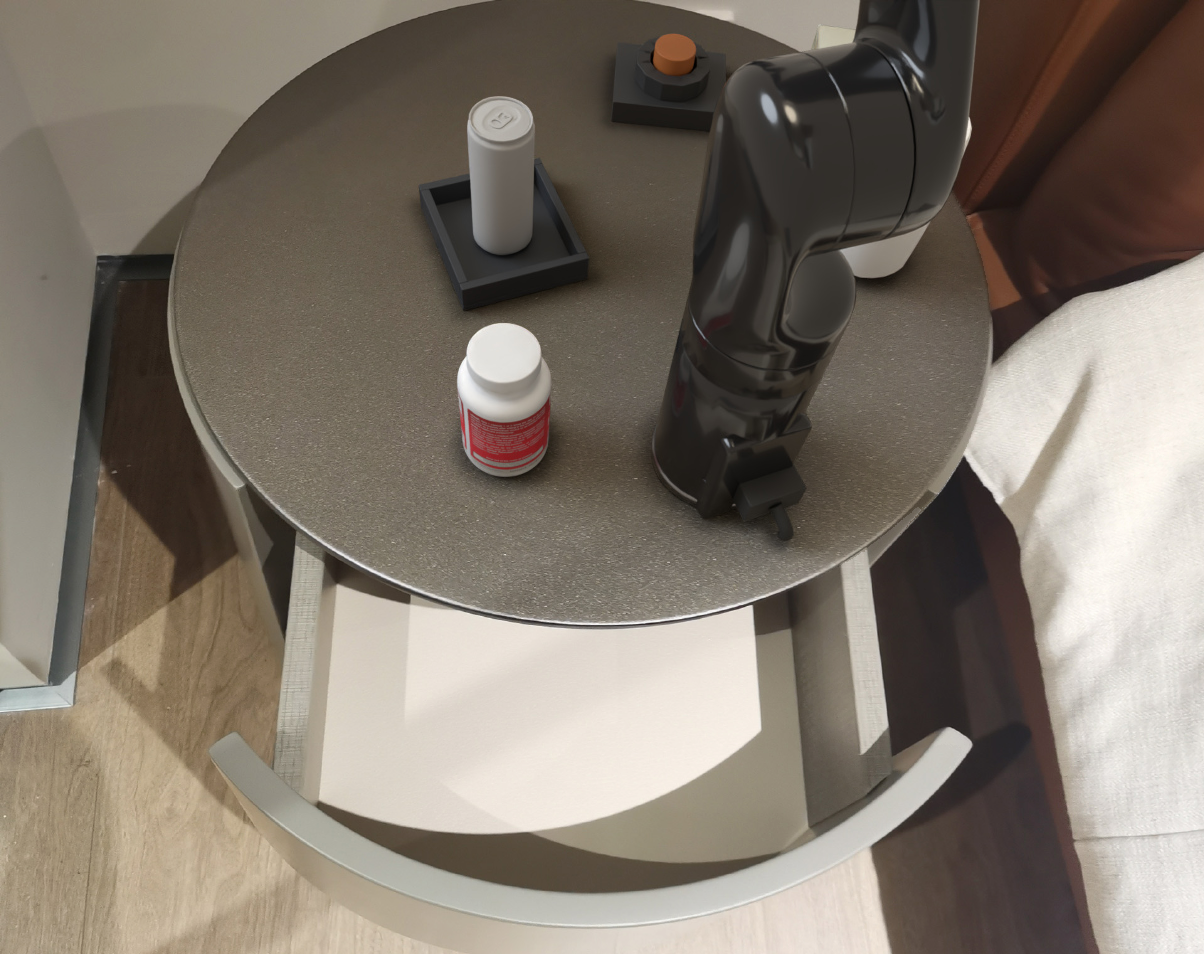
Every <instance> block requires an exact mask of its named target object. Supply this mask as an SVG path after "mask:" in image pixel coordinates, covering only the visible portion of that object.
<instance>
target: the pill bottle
mask: <svg viewBox="0 0 1204 954" xmlns="http://www.w3.org/2000/svg"><path fill="white" fill-rule="evenodd" d="M467 344H468V345H467V348H466V355H465V357H464V359H463V360H462V362H461V364H460V365H459V368H458V372H457V376H456V377H457V378H456V387H457V396H458V397H457V398H458V407H459V418H460V428H461V439H462V440H461V441H462V446H463V449H464V452H465V454H466V456H467V457H468V460H469V461H470V462H471V463H472V464H473V465H474V466H475V467H476V468H478V469H479V470H480V471H482V472H484V473H486V474H487V475H491V476H495V477H504V478H506V477H507V478H508V477H516V476H520V475H522V474H525V473H527V472H529V471H531V470H533V468H535V467H536V466H538V464H540V462H541V461H542V460H543V458H544V456H545V455H546V452H547V449H548V446H549V439H550V438H549V437H550V422H551V401H552V400H551V399H552V375H551V371H550V367H549V365H548V364H547V362H546V360H545V359H544V357H543V356H542V348H541V344H540V342H539V340H538V339H537V337H536V335H534V333H532V332H531V331H530V330H528V329H527V328H525V327H523V326H521V325H518V324H515V323H509V322H500V323H499V322H498V323H493V324H489V325H486V326H484V327H482V328H481V329H479V330H478V331H476V333H475V334H473V336H472V337H471V338H470V339H469V342H468V343H467Z"/></svg>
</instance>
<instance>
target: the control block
mask: <svg viewBox="0 0 1204 954" xmlns="http://www.w3.org/2000/svg"><path fill="white" fill-rule="evenodd" d="M664 35H665V34H663V35H660V36H656V37H651V38H649V39H647V40H645V42H644V43H642V44H639V43H630V42H622V41H621V42H620V41H617V45H616V55H615V64H614V77H613V91H612V102H611V103H612V104H611V117H610V118H611V119H610V121H611V122H612V123H613V122H614V123H623V124H632V125H643V126H651V127H653V126H654V127H661V128H662V127H663V128H671V129H682V130H692V131H702V132H710V127H711V121H712V117H713V114H714V110H715V106H716V103H717V100H718V98H719V96H720V93H721V91H722V89H723V87H724V85H725V84H726V82H727V54H726V53H725V52H724V53H723V52H715V51H707V50H705V49H704V47H703V46H702V45H701V44H699V43H697V42H695V41H693V42H694V44H695V46H696V55H695V60H694V65H693V69H692V71H691V72H690V73H689V74H686V75H683V76H671V75H666V74H664V73H662V72H660V71H658V70H656V68H655V67H654V64H653V57H654V51H655V44H656V41H657V40H658V39H659V38H660V37H662V36H664Z"/></svg>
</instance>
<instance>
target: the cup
mask: <svg viewBox="0 0 1204 954" xmlns="http://www.w3.org/2000/svg"><path fill="white" fill-rule="evenodd" d="M972 129H973V125H972V122H971V118H970V117H969V120H968V128H967V135H966V141H965V146H964V152H963V156H962V158H963V157H964V154H965V152H966V149H967V147H968V145H969V142H970V139H971V134H972ZM930 223H931V221H930V222H929V223H928V224H926V225H925V226H923V227H921V228H919V229H917V230H915V231H912V232H909V233H907V234H904V235H900V236H896V237H893V238H889V239H886V240H881V241H877V242H872V243H868V244H863V245H859V246H855V247H850V248H846V249H842V250H840V251H841V252H842V253H843V254H844V256H845V258H846V259H847V261H848V263H849V265H850V266H851V269H852V271H853V274H854V277H857V278H865V279H866V278H867V279H877V278H884V277H887V276H890V275H893V274H896V272H898V271H900V270H901V269H902V268H904V266H905V264H906V263H907V261H908V260H909V258H910V257H911V255H912V254H913V252H914V250H915V249H916V247H917V246H918V244H919V242H920V240H921V239H922V237H923V235H924V233H925V232H926V230H927V228H928V227H929V225H930Z"/></svg>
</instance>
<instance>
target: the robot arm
mask: <svg viewBox="0 0 1204 954" xmlns="http://www.w3.org/2000/svg"><path fill="white" fill-rule="evenodd" d="M979 12H980V0H859V1H858V11H857V19H856V26H855V29H856V30H855V35H854V39H853V42H852V43H848V44H842V45H837V46H831V47H825V48H820V49H814V50H811V49H808V50H803V51H802V50H801V51H798V52H790V53H787V54H786V53H785V54H780V55H779V54H778V55H774V56H769V57H765V58H759V59H754V60H752V61H749V62H745V63H744V64H742V65H741V66H739V67H738V68H737V69H736V70H735V71H733V73H731V75H730V76H729V78H728V79H726V84H725V85H724V87H723V89H722V91H721V93H720V96H719V98H718V100H717V103H716V106H715V110H714V114H713V117H712V121H711V127H710V131H708V132H709V133H708V138H707V144H706V151H705V157H704V158H705V159H704V164H703V171H702V172H703V173H702V179H701V185H700V191H699V192H700V193H699V198H698V202H697V203H698V204H697V208H696V214H695V220H694V228H693V235H692V277H691V282H690V285H689V289H688V292H687V293H688V294H687V298H686V302H685V306H684V309H683V314H682V318H681V322H680V326H679V330H678V334H677V338H676V342H675V346H674V351H673V355H672V359H671V362H670V363H671V364H670V367H669V372H668V376H667V380H666V384H665V388H664V393H663V396H662V401H661V404H660V409H659V413H658V418H657V422H656V424H655V427H654V429H653V433H652V437H651V443H650V457H651V458H650V459H651V463H652V465H653V468H654V471H655V473H656V475H657V477H658V478H659V480H660V481H661V483H662V484H663V486H665V488H666V489H667V490H668V491H669V492H670V493H672V494H673V495H674V496H675V497H677V498H678V499H679V500H681V501H683V502H684V503H686V504H688V505H691V506H693V507H694V508H695V509H696V511H697V512H698V514H699V516H700V518H701V519H703V520H707V519H710V518H712V517H717V516H719V515H722V514H725V513H727V512H732V511H735V510H737V511H738V513H739V515H740V517H741V519H742V521H743V522H744V523H745V522H748V521H751V520H754V519H756V518H760V517H763V516H766V515H768V514H771V516H772V518H773V520H774V523H775V524H776V526H777V529H778V531H777V533H776V535H777V538H778V539H779V540H780V541H782V542H789V541H791V540H793V538H794V536H795V531H794V527H793V523H792V521H791V519H790V516H789V515H788V513H787V511H786V509H787V508H790V507H793V506H794V505H798V504H799V503H800V501H801V499H802V497H803V496H804V494H805V492H806V490H807V486H806V484H805V482H804V480H803V479H802V477H801V475H800V473H799V471H798V469H797V468H796V466H795V462H796V460H797V458H798V456H799V454H800V452H801V451H802V448H803V446H804V445H805V442H806V440H807V438H808V437H809V434H810V432H811V431H812V428H813V423H812V421H811V420H810V418H809V416H808V414H807V413H806V412H807V410H808V408H809V406H810V404H811V401H812V400H813V397H814V395H815V394H816V392H817V389H818V387H819V385H820V384H821V381H822V379H823V377H824V375H825V373H826V370H827V369H828V367H829V365H830V363H831V362H832V361H831V360H832V359H833V357H834V355H835V353H836V350H837V349H838V346H839V344H840V342H841V340H842V338H843V336H844V334H845V332H846V330H847V327H848V326H849V323H850V321H851V319H852V316H853V314H854V311H855V307H856V303H857V282H856V276H855V275H854V274H853V271H852V269H851V266H850V265H849V263H848V261H847V259H846V258H845V256H844V254H843V253H842V252H841V251H840V250H842V249H846V248H850V247H855V246H859V245H863V244H868V243H872V242H877V241H881V240H886V239H889V238H893V237H896V236H900V235H904V234H907V233H909V232H912V231H915V230H917V229H919V228H921V227H923V226H925V225H926V224H928V223H929V222H930V223H931V221H933V220H934V219H935V218H937V216H938V215H939V214H940V212H941V211H942V210H943V209H944V206H945V205H946V204H947V201H948V200H949V198H950V196H951V194H952V192H953V189H954V187H955V184H956V181H957V178H958V175H959V171H960V168H961V164H962V160H963V157H964V154H963V152H964V146H965V141H966V135H967V128H968V120H969V118H970V110H971V102H972V101H971V100H972V91H973V82H974V69H975V59H976V46H977V36H978V23H979ZM964 153H965V152H964ZM962 156H963V157H962ZM930 223H929V224H930Z"/></svg>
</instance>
